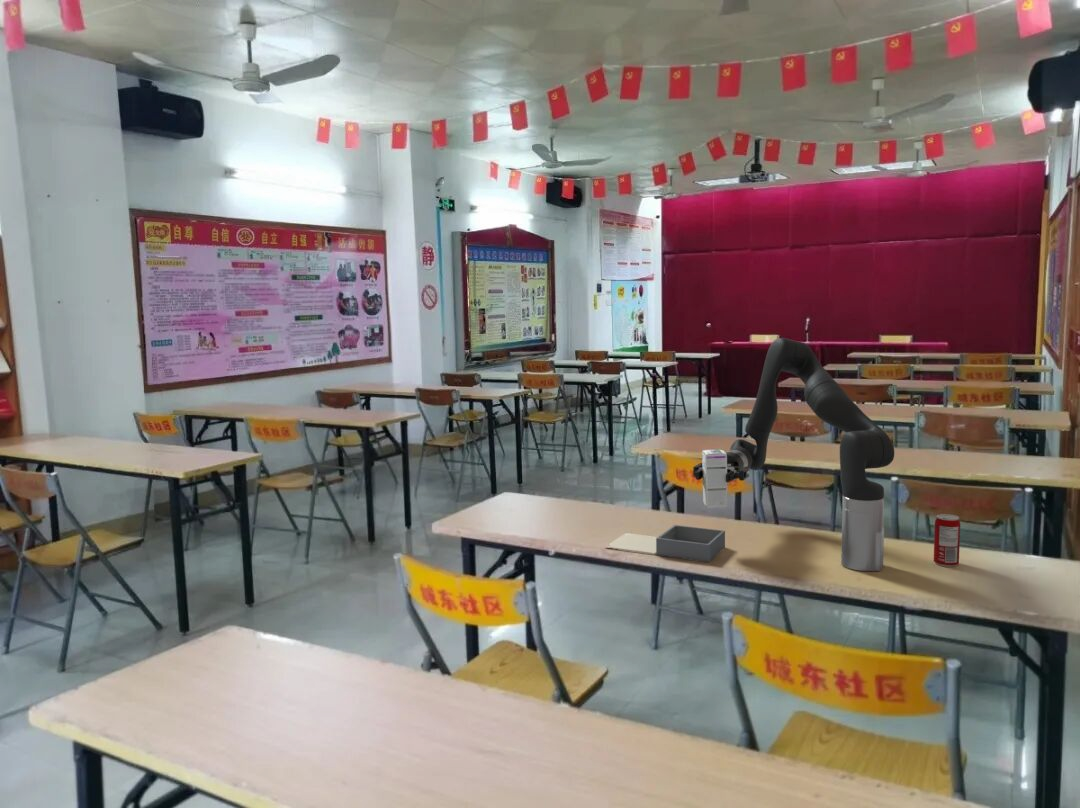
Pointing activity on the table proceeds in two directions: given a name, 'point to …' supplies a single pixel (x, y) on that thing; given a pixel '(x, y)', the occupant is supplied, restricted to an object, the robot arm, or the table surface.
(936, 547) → the soda can
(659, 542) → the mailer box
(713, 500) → the syrup box
